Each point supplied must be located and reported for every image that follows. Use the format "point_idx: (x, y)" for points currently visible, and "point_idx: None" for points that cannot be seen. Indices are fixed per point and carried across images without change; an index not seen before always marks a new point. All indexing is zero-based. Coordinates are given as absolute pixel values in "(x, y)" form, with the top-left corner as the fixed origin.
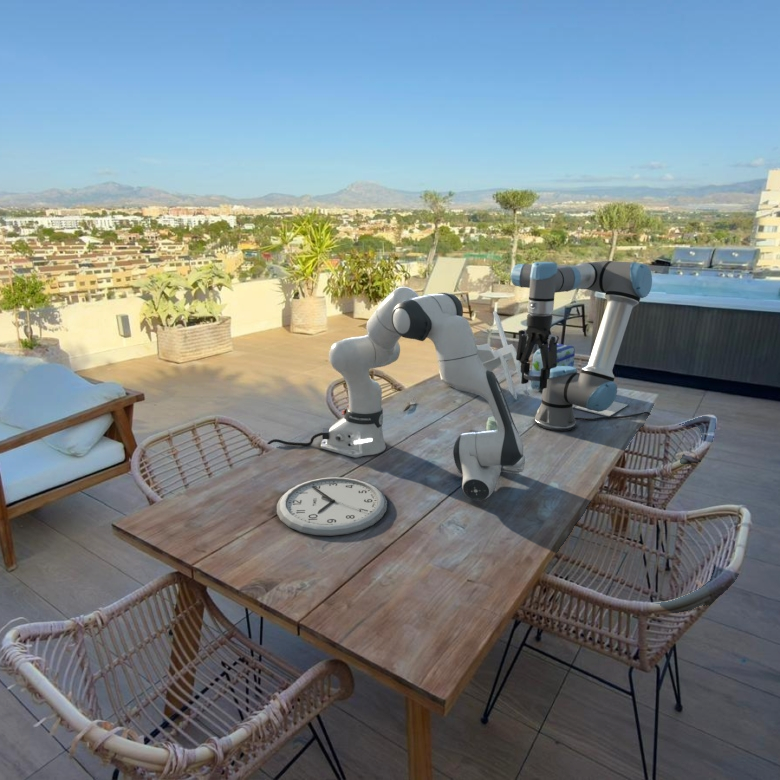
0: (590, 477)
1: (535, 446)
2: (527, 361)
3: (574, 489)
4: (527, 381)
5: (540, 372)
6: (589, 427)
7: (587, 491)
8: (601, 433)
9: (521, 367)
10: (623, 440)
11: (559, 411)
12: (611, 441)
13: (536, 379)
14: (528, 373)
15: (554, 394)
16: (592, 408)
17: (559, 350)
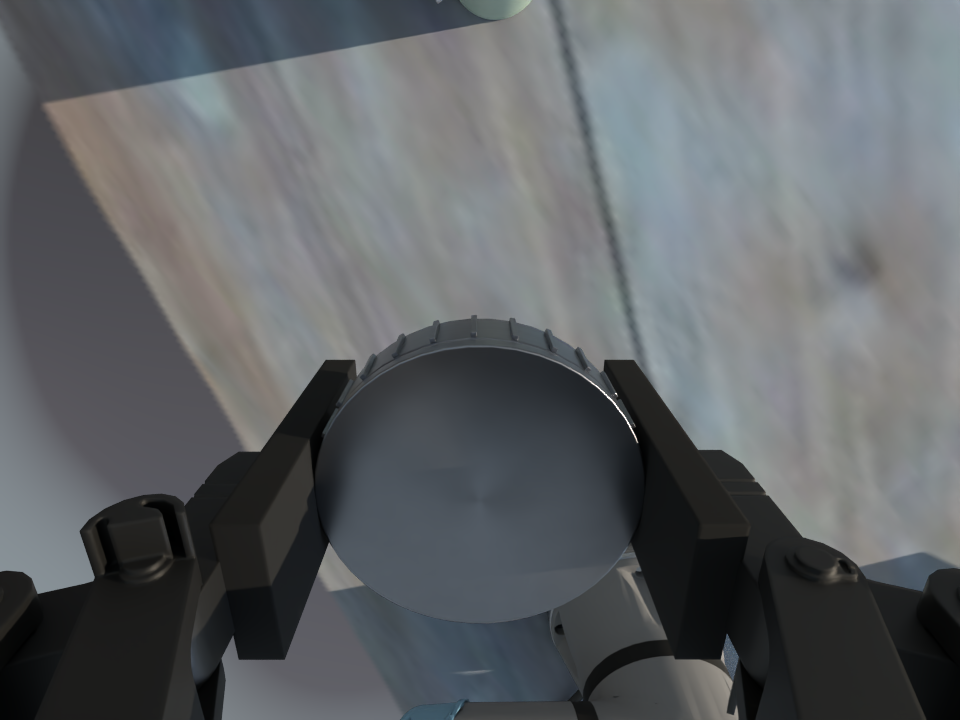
0: (192, 302)
1: None
2: (738, 668)
3: (130, 141)
4: None
5: (452, 586)
6: (520, 667)
7: (93, 175)
8: (457, 654)
9: (756, 500)
10: (371, 657)
11: (603, 641)
12: (389, 624)
13: (356, 380)
14: (536, 420)
15: (656, 710)
16: (432, 705)
17: None
